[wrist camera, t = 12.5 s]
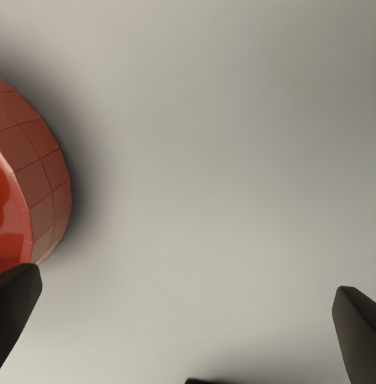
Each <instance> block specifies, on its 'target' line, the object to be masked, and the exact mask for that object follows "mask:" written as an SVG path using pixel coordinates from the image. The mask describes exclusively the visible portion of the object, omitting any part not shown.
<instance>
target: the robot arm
mask: <svg viewBox="0 0 376 384" xmlns="http://www.w3.org/2000/svg"><path fill="white" fill-rule="evenodd" d="M41 292H42V280H41V276H40V271H39V267H38V265H37V264H35V263H21V264H19V265H17V266H15V267H13V268H11V269H9V270H6V271H4V272H2V273H0V368H1V367H2V365H3V363H4V362H5V360H6V358H7V357H8V355H9V354H10V352H11V350H12V349H13V347H14V345H15V344H16V342H17V340H18V338H19V337H20V335H21V333H22V331H23V329H24V327H25V325H26V323H27V321H28V319H29V317H30V315H31V313H32V310H33V308H34V306H35V304H36V302H37V300H38V298H39V296H40V294H41ZM332 316H333V321H334V325H335V328H336V332H337V336H338V340H339V344H340V348H341V352H342V356H343V360H344V364H345V367H346V371H347V374H348V377H349V380H350V382H351V384H376V302H374V301H373V300H371V299H370V298H369V297H367V296H366V295H365V294H363V293H362V292H361V291H359V290H358V289H356V288H355V287H349V286H340V287H338V289H337V291H336V295H335V299H334V303H333V307H332ZM185 384H211V383H205V382H199V381H193V380H187V381H186V382H185Z"/></svg>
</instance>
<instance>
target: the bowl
mask: <svg viewBox="0 0 376 384" xmlns="http://www.w3.org/2000/svg"><path fill="white" fill-rule="evenodd" d="M71 209H72V196H71V180H70V176H69V173H68V170H67V167H66V164H65V161H64V158H63V155H62V152H61V149H60V146H59V145H58V143H57V142H56V140H55V138H54V137H53V135H52V133H51V132H50V130H49V128H48V127H47V125H46V123H45V122H44V120H43V119H42V117H41V116H40V115H39V114H38V113H37V112H36V111H35V110H34V109H33V107H32V106H31V105H30V104H29V103H28V102H27V101H26V100H25V99H24V98H23V97H22V96H21V95H20V94H19V93H18V92H17V91H16V90H15V89H13V88H12V87H11V86H9V85H8V84H6V83H5V82H3V81H2V80H0V273H2V272H4V271H6V270H9V269H11V268H13V267H15V266H17V265H19V264H21V263H35V264H37V265H38V267H39V266H40V264H41V263H42V262H43V261H44V260H45V259H46V258H47V257H48V256H49V254H50V253H51V252H52V251H53V250H54V249H55V247H56V246H57V244H58V243H59V241H60V240H61V238H62V236H63V235H64V233H65V232H66V230H67V226H68V221H69V217H70V213H71Z"/></svg>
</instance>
